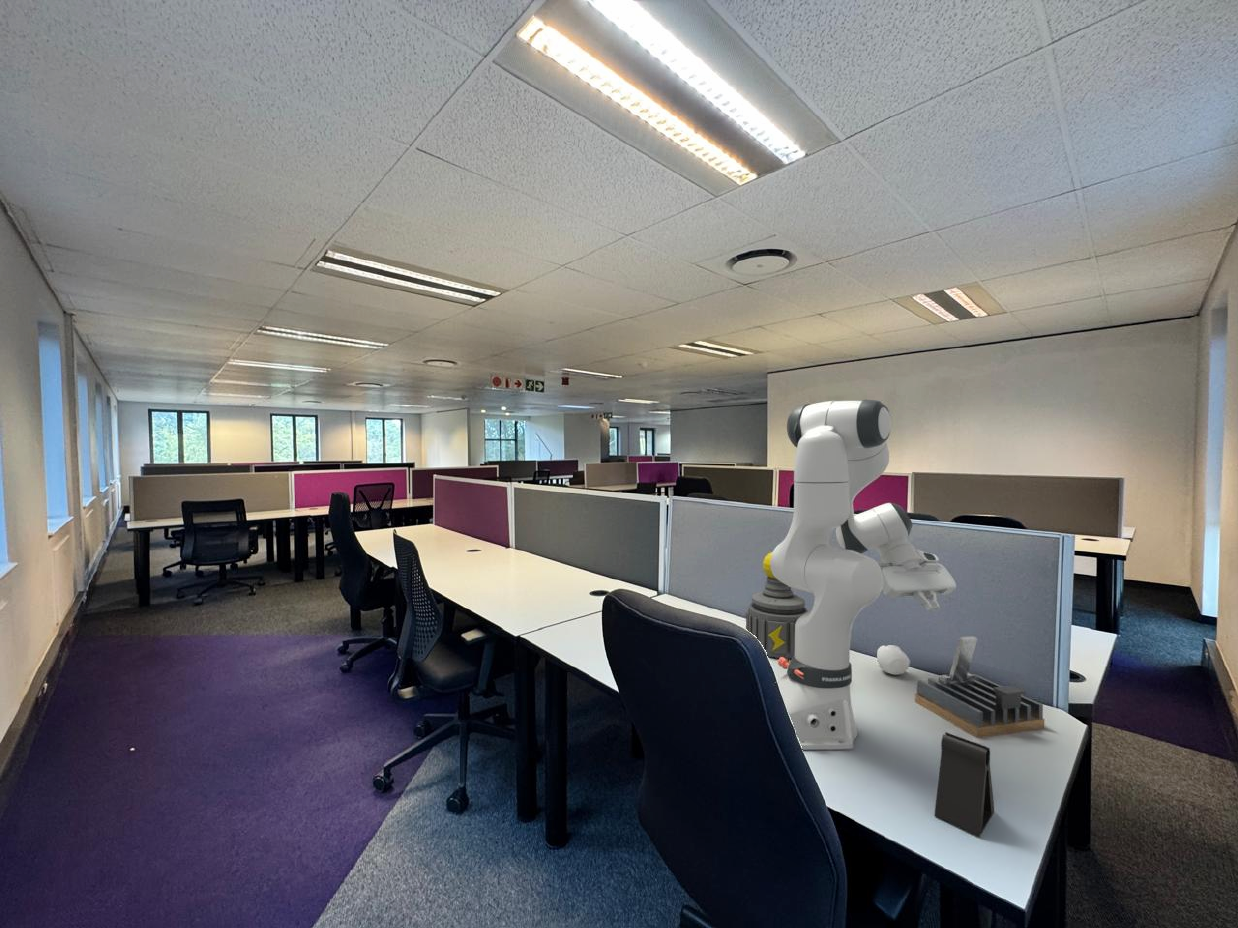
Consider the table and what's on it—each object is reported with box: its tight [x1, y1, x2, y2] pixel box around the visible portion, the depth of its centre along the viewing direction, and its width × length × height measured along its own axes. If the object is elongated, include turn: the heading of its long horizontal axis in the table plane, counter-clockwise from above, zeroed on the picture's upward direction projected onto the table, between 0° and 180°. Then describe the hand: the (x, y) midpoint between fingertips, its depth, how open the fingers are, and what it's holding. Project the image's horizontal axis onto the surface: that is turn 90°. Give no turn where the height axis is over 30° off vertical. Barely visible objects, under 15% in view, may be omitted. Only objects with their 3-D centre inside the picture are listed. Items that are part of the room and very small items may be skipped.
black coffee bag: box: [934, 731, 995, 838], centre depth 81 cm, size 9×6×12 cm, turn 131°
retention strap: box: [948, 635, 978, 682], centre depth 117 cm, size 5×12×1 cm
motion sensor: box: [876, 644, 911, 676], centre depth 136 cm, size 8×8×8 cm
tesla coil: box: [745, 551, 809, 660], centre depth 153 cm, size 19×19×30 cm
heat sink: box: [914, 672, 1045, 738], centre depth 113 cm, size 18×17×9 cm
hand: (933, 609), depth 125 cm, fingers closed
